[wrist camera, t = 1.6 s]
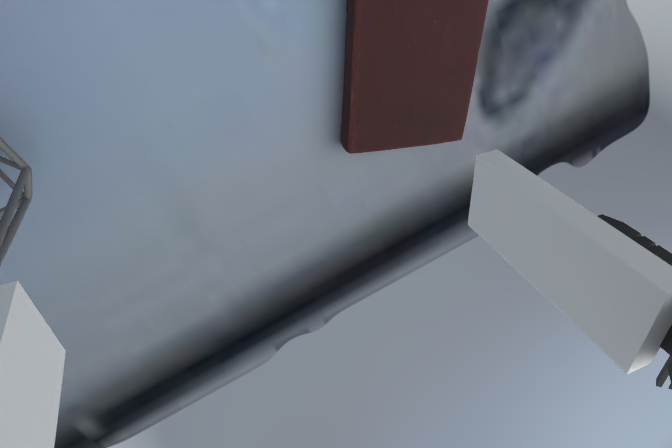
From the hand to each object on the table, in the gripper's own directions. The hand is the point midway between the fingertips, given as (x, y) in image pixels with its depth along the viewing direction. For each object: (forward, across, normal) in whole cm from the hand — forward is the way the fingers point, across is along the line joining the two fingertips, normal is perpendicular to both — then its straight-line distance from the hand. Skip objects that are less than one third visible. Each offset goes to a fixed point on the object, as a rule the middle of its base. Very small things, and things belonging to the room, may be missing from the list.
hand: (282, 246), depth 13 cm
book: (+32, +21, -4) cm, 39 cm away
